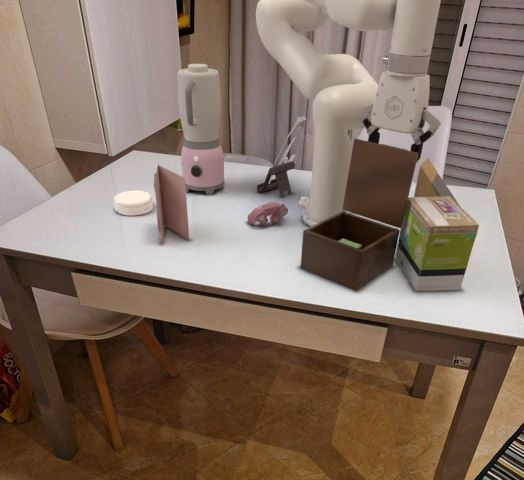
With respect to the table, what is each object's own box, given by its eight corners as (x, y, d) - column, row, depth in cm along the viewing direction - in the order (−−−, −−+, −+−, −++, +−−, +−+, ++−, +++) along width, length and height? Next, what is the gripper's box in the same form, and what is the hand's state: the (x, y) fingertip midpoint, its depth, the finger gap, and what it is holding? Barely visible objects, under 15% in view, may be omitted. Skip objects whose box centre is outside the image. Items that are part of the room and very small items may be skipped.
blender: (191, 179, 154) (183, 60, 134) (229, 182, 152) (227, 63, 132) (173, 196, 142) (161, 69, 122) (214, 201, 140) (209, 72, 120)
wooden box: (356, 291, 102) (362, 252, 96) (300, 267, 109) (303, 230, 104) (392, 266, 110) (400, 229, 105) (338, 246, 118) (342, 211, 113)
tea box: (392, 258, 113) (405, 195, 104) (435, 257, 114) (451, 194, 105) (414, 292, 102) (430, 224, 93) (461, 291, 102) (482, 223, 93)
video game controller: (251, 233, 127) (257, 214, 121) (244, 219, 128) (250, 200, 122) (285, 226, 130) (292, 207, 124) (278, 213, 132) (285, 194, 126)
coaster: (108, 212, 132) (105, 199, 130) (129, 200, 139) (127, 187, 137) (140, 218, 129) (138, 205, 127) (160, 205, 136) (159, 193, 134)
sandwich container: (469, 236, 124) (486, 175, 115) (407, 224, 129) (419, 165, 120) (473, 223, 130) (490, 165, 121) (414, 213, 135) (426, 156, 126)
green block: (327, 266, 108) (329, 245, 105) (340, 258, 111) (342, 238, 108) (346, 274, 106) (349, 252, 102) (359, 266, 109) (362, 245, 105)
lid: (417, 153, 96) (428, 150, 99) (354, 138, 104) (366, 136, 107) (399, 228, 105) (410, 223, 108) (342, 209, 112) (354, 205, 115)
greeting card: (161, 225, 126) (154, 164, 117) (190, 224, 127) (186, 164, 117) (157, 244, 117) (149, 181, 108) (189, 244, 118) (184, 180, 108)
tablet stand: (277, 185, 151) (278, 156, 146) (296, 191, 147) (298, 162, 142) (256, 192, 146) (257, 162, 141) (276, 199, 142) (277, 169, 136)
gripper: (358, 62, 96) (347, 153, 106) (441, 72, 87) (421, 171, 97) (378, 58, 101) (366, 146, 111) (459, 68, 92) (438, 163, 102)
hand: (392, 158), depth 104 cm, fingers open, 9 cm apart
